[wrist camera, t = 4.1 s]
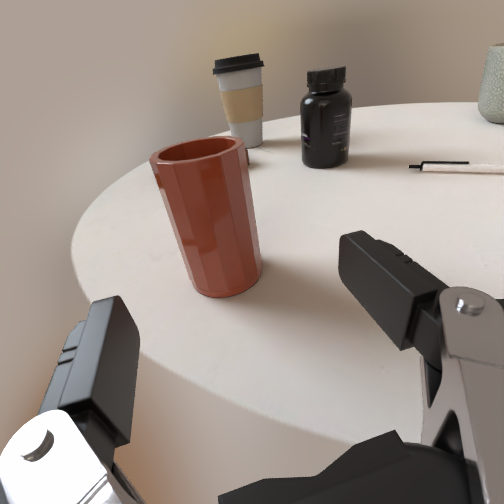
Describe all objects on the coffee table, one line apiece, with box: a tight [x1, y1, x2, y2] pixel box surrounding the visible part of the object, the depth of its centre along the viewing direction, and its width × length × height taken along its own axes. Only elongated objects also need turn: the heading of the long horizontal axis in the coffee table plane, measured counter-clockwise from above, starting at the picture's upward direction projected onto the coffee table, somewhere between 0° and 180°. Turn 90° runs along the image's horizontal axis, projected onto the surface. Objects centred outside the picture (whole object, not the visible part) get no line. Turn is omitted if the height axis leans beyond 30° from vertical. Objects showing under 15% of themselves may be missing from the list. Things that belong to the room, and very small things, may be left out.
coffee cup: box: [213, 53, 264, 148], centre depth 54 cm, size 9×9×15 cm
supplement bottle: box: [300, 66, 352, 168], centre depth 39 cm, size 7×7×12 cm
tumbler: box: [150, 136, 262, 297], centre depth 20 cm, size 6×6×10 cm
